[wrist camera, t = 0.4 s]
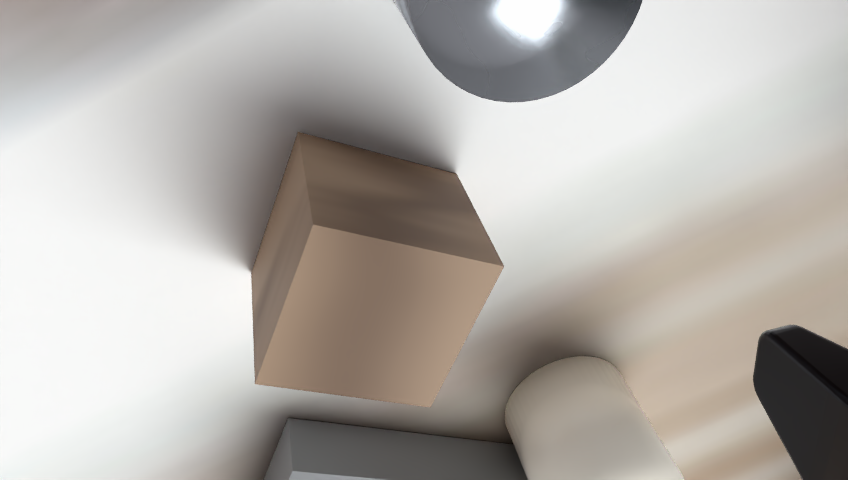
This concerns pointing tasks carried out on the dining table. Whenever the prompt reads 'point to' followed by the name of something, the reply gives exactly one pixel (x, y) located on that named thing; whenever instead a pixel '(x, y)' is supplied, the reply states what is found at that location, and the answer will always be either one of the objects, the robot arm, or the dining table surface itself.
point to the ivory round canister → (584, 426)
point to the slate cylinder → (518, 42)
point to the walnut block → (367, 275)
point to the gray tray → (386, 455)
